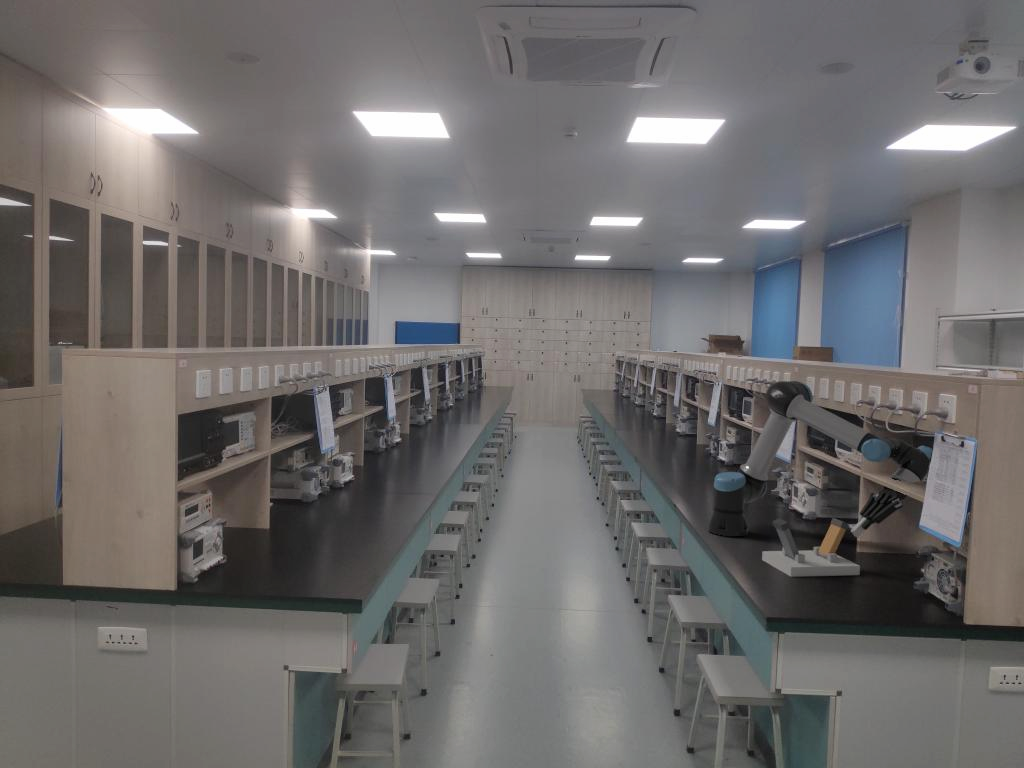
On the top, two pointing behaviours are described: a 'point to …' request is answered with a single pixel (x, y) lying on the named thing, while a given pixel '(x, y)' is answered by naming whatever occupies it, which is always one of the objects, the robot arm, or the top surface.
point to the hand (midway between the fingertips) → (854, 534)
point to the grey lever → (786, 537)
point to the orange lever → (833, 537)
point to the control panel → (810, 563)
